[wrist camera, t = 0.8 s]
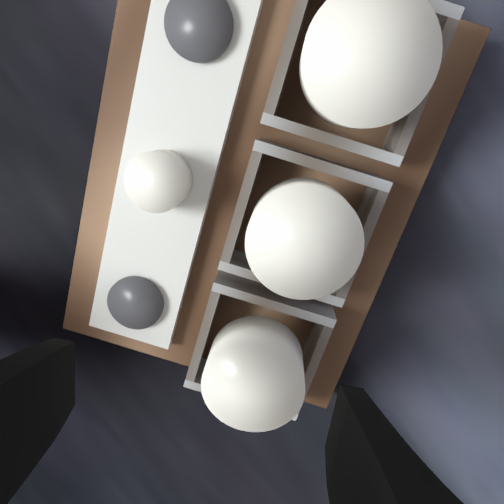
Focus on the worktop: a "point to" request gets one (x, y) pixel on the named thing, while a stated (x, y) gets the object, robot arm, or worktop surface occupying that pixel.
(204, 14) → the strip
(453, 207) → the worktop surface
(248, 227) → the button mid
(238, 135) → the console
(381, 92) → the button near
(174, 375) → the worktop surface
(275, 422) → the button far
